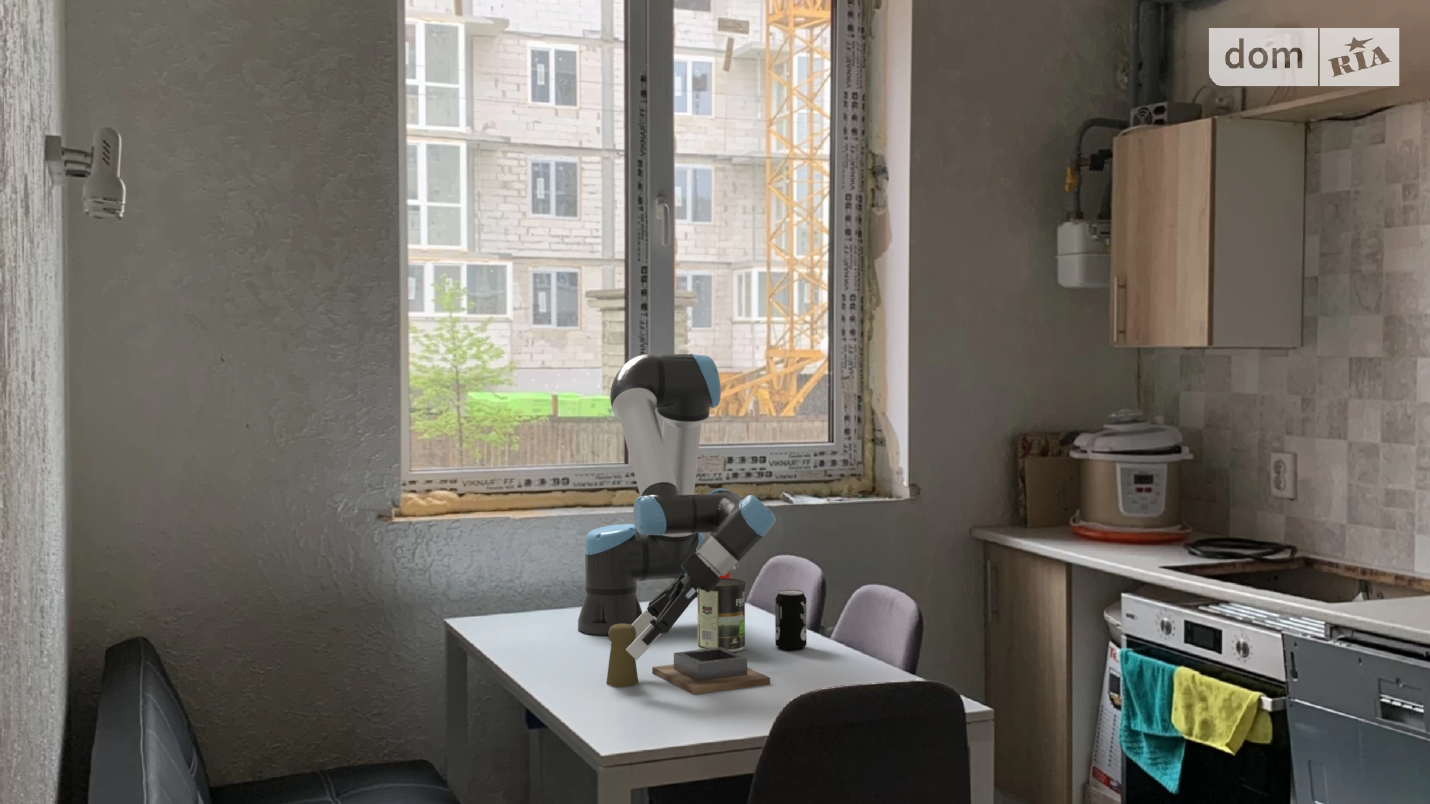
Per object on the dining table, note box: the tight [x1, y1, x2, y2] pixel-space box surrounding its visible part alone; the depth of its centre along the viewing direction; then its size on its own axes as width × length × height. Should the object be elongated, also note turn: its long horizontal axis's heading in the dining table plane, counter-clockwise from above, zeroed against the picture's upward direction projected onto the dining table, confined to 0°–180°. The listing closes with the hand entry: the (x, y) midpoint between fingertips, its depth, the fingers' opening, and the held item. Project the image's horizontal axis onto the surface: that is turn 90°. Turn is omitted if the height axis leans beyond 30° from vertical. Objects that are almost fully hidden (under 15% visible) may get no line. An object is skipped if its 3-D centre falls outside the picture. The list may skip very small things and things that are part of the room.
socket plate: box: [651, 647, 771, 695], centre depth 232 cm, size 18×16×4 cm
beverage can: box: [774, 588, 808, 652], centre depth 258 cm, size 7×7×12 cm
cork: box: [606, 624, 639, 688], centre depth 229 cm, size 6×6×11 cm
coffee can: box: [696, 577, 746, 653], centre depth 258 cm, size 10×10×14 cm
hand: (629, 647), depth 228 cm, fingers open, 13 cm apart
